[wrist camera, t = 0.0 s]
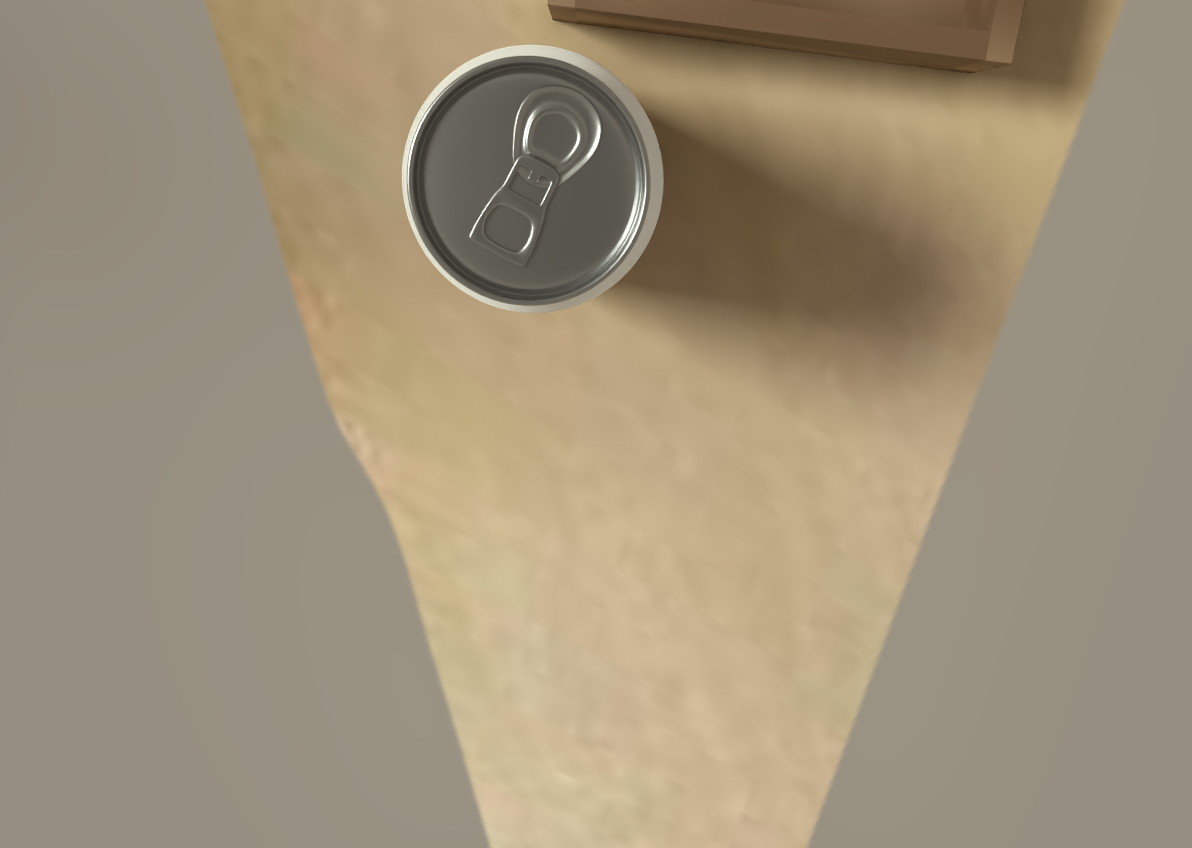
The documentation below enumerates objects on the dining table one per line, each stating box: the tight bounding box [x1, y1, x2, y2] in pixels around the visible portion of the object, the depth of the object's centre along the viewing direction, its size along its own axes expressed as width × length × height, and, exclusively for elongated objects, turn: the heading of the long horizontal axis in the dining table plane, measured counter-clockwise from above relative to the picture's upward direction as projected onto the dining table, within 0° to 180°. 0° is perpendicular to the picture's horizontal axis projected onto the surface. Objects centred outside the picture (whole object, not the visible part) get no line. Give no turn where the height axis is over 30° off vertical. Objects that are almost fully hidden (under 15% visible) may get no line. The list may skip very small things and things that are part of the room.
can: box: [402, 45, 664, 313], centre depth 30 cm, size 6×6×12 cm
